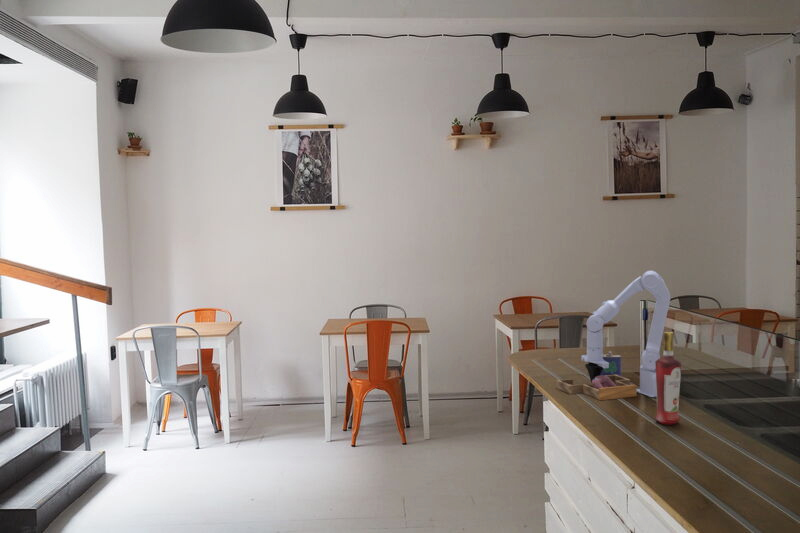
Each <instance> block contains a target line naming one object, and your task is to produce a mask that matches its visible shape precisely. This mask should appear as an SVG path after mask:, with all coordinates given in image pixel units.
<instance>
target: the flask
mask: <svg viewBox="0 0 800 533" xmlns="http://www.w3.org/2000/svg"><path fill="white" fill-rule="evenodd" d="M603 360H605V361H606V362H608V363H609V368H603V370H602V372H601V374H600V375H604V376H605V375H615V374H616V375H618V376H621V377H622V356H621V355H618V354H617V355H616V354H615V355H613V352H612V351H608V353H607V354H605V353H603Z"/></svg>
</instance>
